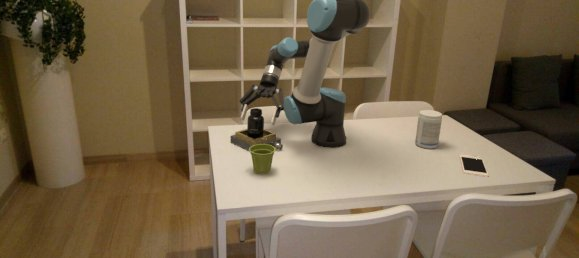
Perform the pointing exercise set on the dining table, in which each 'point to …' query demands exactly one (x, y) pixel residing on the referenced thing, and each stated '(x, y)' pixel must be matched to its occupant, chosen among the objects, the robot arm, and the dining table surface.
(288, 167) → the dining table surface
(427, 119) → the supplement tub
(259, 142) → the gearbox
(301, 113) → the robot arm
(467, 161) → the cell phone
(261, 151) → the plant pot
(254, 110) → the supplement bottle
